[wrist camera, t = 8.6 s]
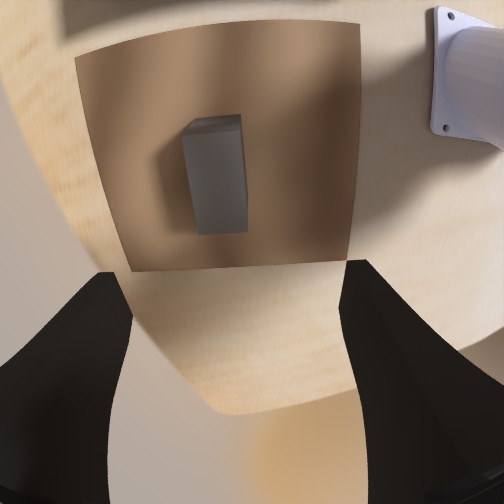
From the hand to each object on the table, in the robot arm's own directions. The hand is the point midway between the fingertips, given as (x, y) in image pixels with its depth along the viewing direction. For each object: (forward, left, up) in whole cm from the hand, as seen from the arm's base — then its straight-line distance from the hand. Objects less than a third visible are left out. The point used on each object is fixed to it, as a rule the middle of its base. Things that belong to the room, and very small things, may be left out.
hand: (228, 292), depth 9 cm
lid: (+1, -1, -10) cm, 10 cm away
